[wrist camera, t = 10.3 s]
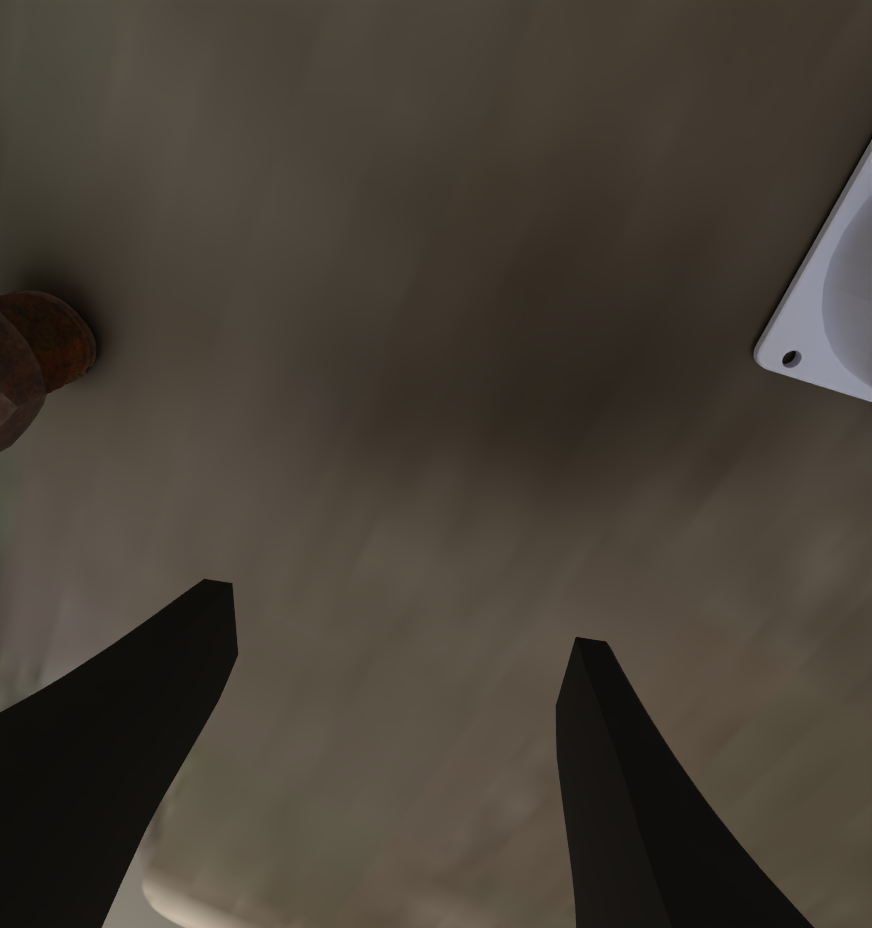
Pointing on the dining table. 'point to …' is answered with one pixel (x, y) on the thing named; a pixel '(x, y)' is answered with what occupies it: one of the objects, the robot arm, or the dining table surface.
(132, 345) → the dining table surface
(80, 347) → the bolt
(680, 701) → the dining table surface
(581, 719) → the robot arm
